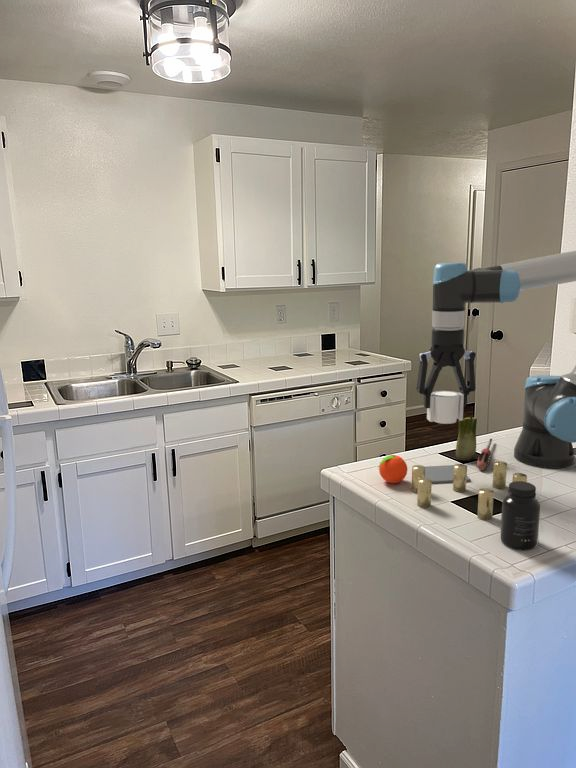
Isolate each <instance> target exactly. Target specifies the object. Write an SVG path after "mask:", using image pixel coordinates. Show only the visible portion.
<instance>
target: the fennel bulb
mask: <svg viewBox="0 0 576 768" xmlns="http://www.w3.org/2000/svg"><path fill="white" fill-rule="evenodd" d="M477 420H478V418H477V417H472V418H471V417H463V420H459V419H458V437H457V440H456V446H455V447H456V448H455V457H456V458H457V459H458V460H459V461H463V462H467V461H470V462H471V461H473V460H474V459H475V457H476V453H477V422H478V421H477Z"/></svg>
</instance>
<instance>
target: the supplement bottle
mask: <svg viewBox="0 0 576 768" xmlns="http://www.w3.org/2000/svg"><path fill="white" fill-rule="evenodd" d="M536 492H537V487H536V485H534V484H532V483H531V482H528V481H527V482H523V481H515V482H510V483H509V484H508V491H507V495H506V496H504V497H503V499H502V502H501V503H502V505H501V517H500V518H501V519H500V520H501V522H500V541H501V543H502V544H504V546H506V547H508V548H510V549H513V550H517V551H530V550H533V549H535V548H536V547H537V545H538V544H539V543H538V542H539V529H540V527H539V526H540V517H541V516H540V515H541V514H540V513H541V504H540V502H539V500H538V499H537V498H536V496H537V493H536Z"/></svg>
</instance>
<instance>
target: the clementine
mask: <svg viewBox="0 0 576 768" xmlns="http://www.w3.org/2000/svg"><path fill="white" fill-rule="evenodd" d="M378 471H379V475H380V477H381V478H382V479H383V480H384V481H385V482H386V483H390V484H397V483H400V482H402V481H404V479H405V478H406V476H407V474H408V464H407V463H406V461H405V460H404V459H403V458H402V457H401V456H399V455H396V454H390V455H387V456H385V457H383V459H382V460H381V461H380V463H379V466H378Z"/></svg>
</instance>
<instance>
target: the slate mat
mask: <svg viewBox="0 0 576 768" xmlns="http://www.w3.org/2000/svg"><path fill="white" fill-rule="evenodd" d="M454 465H455V464H452V465H451V464H450V465H446V464H445V465H433V466H431V465H430V466H424V467H425V478H428V479H431V480H432V485H433V484H447V483H451V484H453V476H454ZM467 482H469V483H470V482H471V478H470V477H469V475H467V479H466V483H467Z"/></svg>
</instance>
